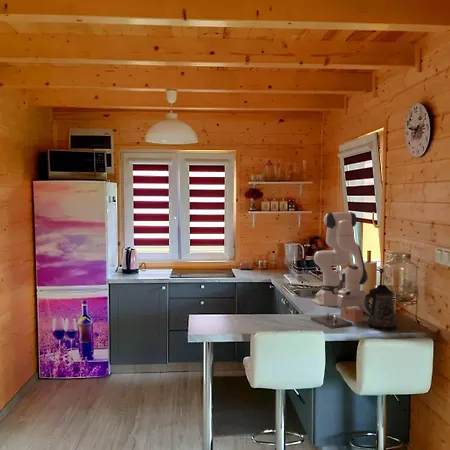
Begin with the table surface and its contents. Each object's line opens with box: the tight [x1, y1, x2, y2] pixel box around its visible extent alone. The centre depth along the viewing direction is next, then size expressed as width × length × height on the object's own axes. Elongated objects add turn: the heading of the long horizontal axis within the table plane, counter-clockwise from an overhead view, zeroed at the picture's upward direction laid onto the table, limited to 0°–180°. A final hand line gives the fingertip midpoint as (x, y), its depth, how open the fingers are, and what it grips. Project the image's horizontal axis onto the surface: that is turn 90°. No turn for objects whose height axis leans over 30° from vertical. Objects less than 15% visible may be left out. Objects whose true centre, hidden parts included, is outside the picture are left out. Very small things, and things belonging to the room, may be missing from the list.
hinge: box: [361, 300, 372, 316], centre depth 310 cm, size 17×5×10 cm, turn 6°
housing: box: [340, 306, 364, 323], centre depth 294 cm, size 14×6×7 cm, turn 23°
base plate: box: [310, 312, 353, 328], centre depth 286 cm, size 20×16×5 cm
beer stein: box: [364, 284, 398, 332], centre depth 275 cm, size 16×19×25 cm
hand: (351, 313), depth 294 cm, fingers open, 8 cm apart
